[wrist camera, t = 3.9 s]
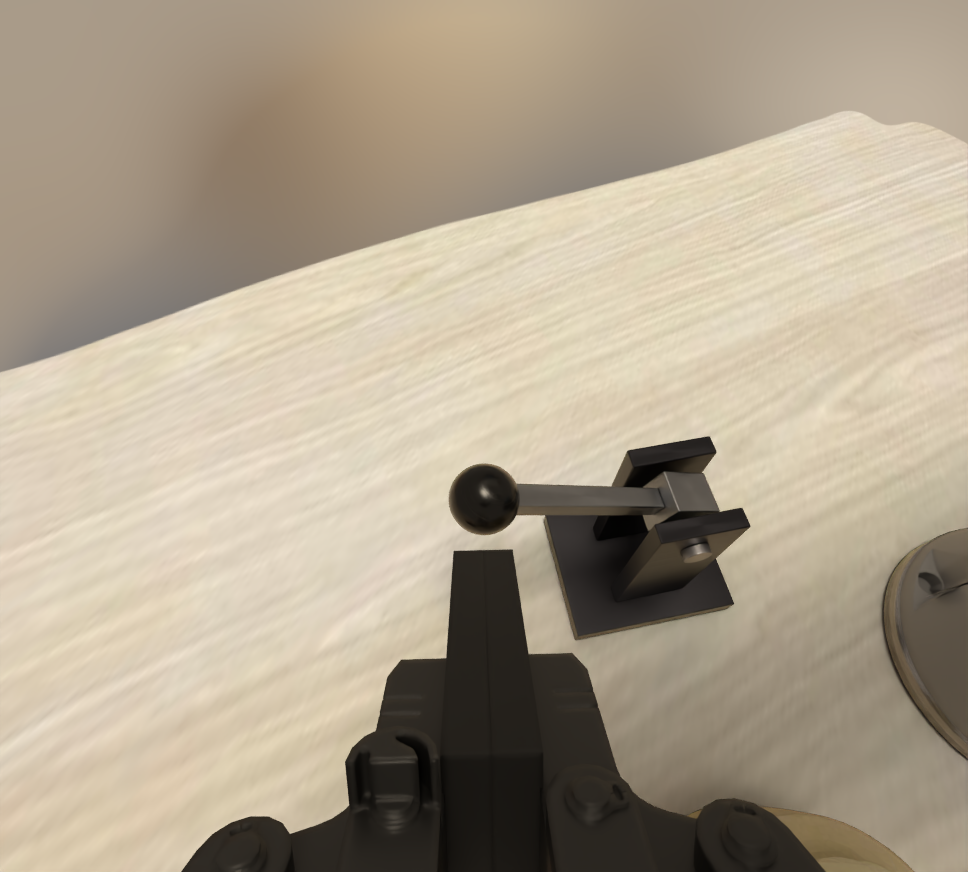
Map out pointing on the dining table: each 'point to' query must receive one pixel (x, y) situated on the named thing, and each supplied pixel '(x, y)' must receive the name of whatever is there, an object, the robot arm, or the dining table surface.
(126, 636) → the dining table surface
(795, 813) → the sugar bowl
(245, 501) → the dining table surface
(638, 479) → the bracket
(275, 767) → the dining table surface
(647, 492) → the lever
